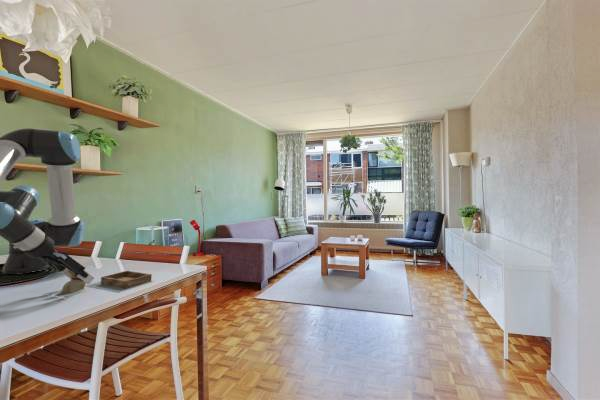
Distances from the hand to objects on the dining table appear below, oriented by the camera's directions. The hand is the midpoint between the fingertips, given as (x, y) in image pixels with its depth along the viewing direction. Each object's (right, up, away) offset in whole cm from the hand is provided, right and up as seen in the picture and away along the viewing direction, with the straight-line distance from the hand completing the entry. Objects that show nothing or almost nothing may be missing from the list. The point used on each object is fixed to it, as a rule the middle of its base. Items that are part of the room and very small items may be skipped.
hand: (84, 279), depth 109 cm
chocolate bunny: (-1, -4, -3) cm, 5 cm away
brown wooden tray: (+11, -3, +8) cm, 14 cm away
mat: (+10, -4, +7) cm, 12 cm away
